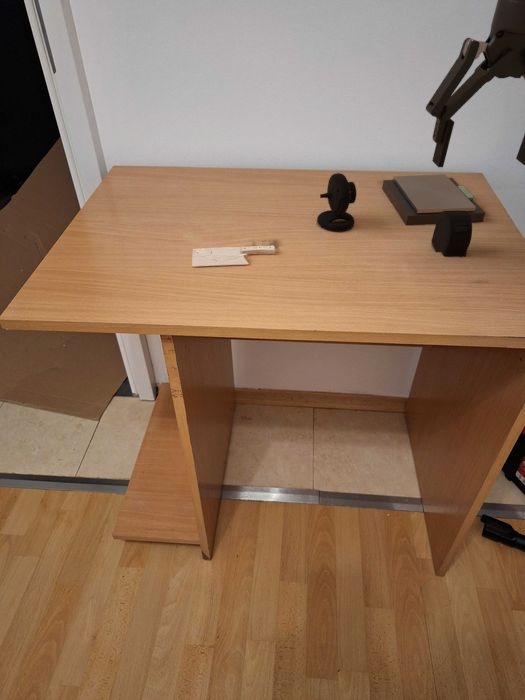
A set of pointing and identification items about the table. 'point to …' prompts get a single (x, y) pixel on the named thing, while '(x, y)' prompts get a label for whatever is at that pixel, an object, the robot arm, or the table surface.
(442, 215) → the tape measure
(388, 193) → the scale base
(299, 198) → the table surface
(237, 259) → the toy cleaver knife
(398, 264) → the table surface
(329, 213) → the webcam
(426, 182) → the pan
